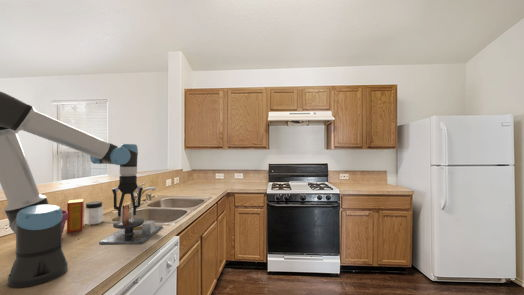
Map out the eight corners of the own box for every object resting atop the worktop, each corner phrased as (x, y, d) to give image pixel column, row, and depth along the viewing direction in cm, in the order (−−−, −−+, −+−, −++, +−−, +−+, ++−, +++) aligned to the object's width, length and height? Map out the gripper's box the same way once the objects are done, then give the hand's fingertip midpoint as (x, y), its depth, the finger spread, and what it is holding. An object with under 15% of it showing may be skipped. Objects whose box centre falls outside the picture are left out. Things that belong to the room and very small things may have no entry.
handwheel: (147, 235, 118) (148, 204, 119) (108, 238, 114) (108, 206, 114) (153, 226, 132) (153, 198, 133) (118, 228, 128) (118, 200, 128)
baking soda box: (69, 227, 134) (69, 199, 134) (83, 225, 137) (84, 198, 138) (66, 232, 126) (67, 202, 126) (82, 230, 130) (82, 201, 130)
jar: (84, 225, 138) (84, 204, 138) (85, 222, 145) (85, 202, 145) (102, 223, 143) (103, 203, 143) (102, 219, 150) (103, 200, 150)
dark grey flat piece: (142, 243, 111) (143, 229, 111) (99, 244, 111) (99, 230, 111) (162, 227, 135) (162, 215, 135) (126, 227, 135) (126, 215, 135)
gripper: (146, 173, 126) (145, 218, 125) (108, 174, 117) (106, 222, 117) (148, 175, 119) (146, 222, 119) (107, 176, 111) (105, 227, 110)
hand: (126, 222), depth 118 cm, fingers open, 4 cm apart
